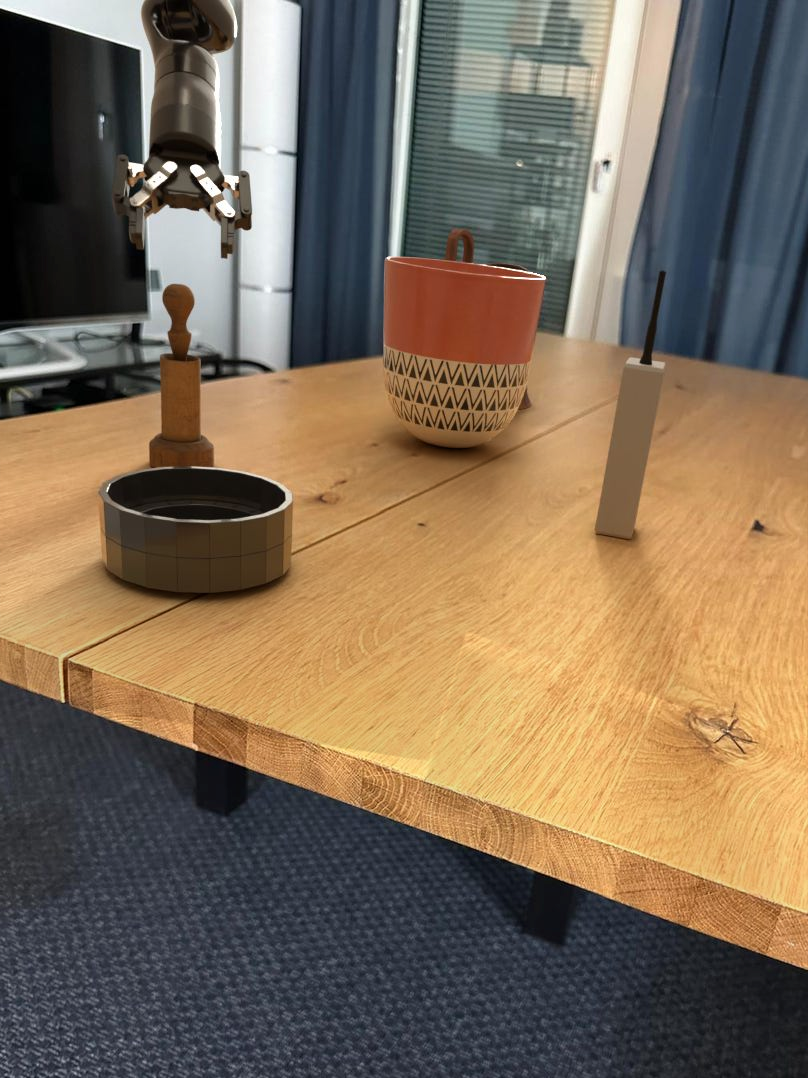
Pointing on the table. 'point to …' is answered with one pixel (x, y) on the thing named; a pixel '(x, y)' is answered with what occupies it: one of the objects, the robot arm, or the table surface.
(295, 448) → the table surface
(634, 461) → the vintage mobile phone
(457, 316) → the planter
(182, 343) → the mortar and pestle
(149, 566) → the bowl
